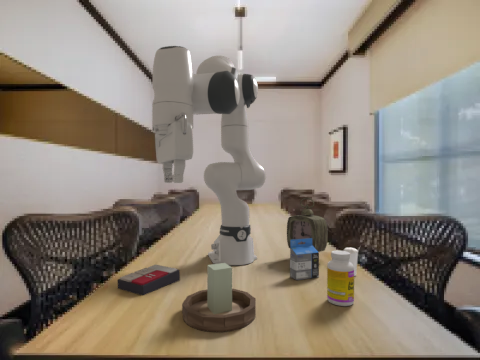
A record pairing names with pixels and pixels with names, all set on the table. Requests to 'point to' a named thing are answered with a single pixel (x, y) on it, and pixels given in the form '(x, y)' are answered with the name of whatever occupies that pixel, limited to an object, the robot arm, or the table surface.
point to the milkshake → (353, 257)
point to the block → (219, 288)
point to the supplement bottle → (340, 279)
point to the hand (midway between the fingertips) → (172, 182)
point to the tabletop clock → (308, 228)
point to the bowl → (205, 320)
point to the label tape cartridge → (303, 259)
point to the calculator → (148, 279)
